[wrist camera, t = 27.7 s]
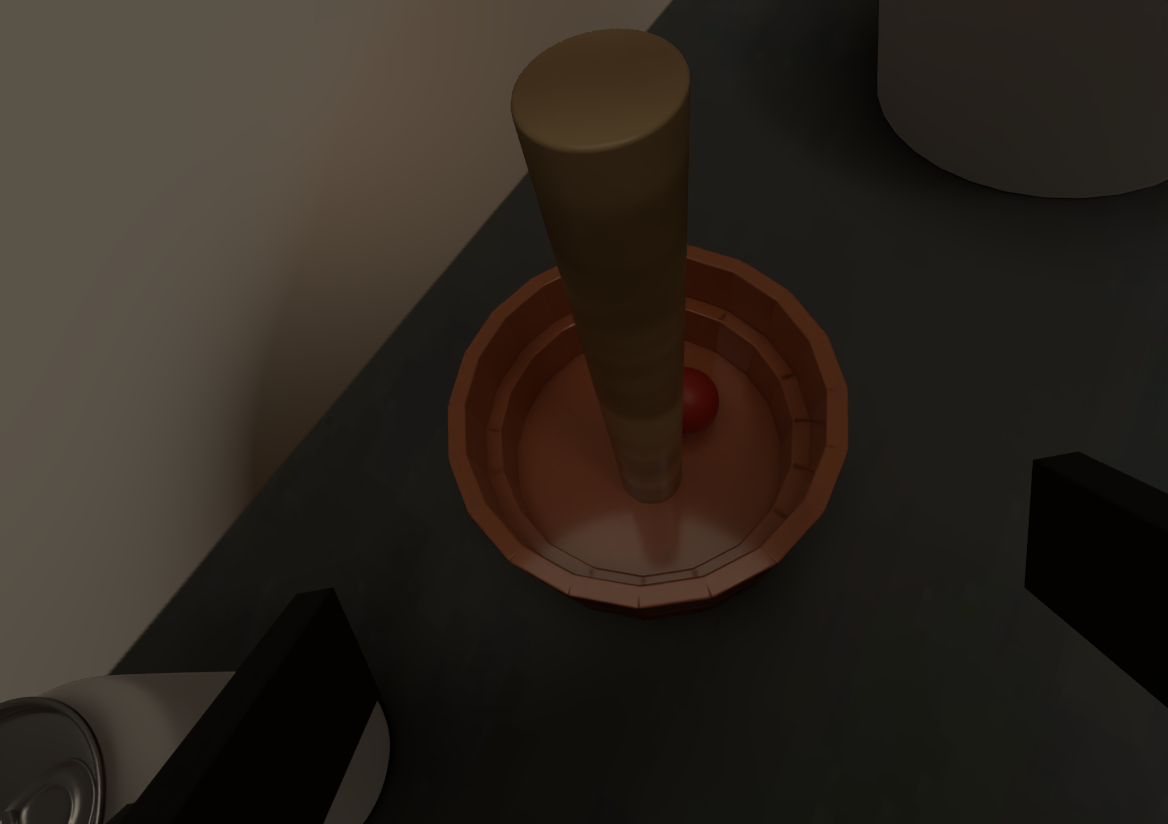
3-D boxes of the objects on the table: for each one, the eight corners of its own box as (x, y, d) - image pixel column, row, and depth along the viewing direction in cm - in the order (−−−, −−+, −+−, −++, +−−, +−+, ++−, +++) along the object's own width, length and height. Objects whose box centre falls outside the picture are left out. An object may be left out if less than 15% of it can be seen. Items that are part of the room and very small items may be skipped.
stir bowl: (455, 400, 28) (402, 338, 23) (702, 280, 29) (708, 192, 23) (569, 683, 22) (534, 691, 16) (881, 520, 22) (946, 475, 17)
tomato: (695, 390, 26) (635, 392, 25) (718, 351, 23) (653, 353, 23) (712, 446, 24) (648, 450, 24) (739, 412, 22) (669, 415, 21)
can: (415, 806, 21) (130, 962, 10) (259, 892, 20) (-213, 1153, 10) (370, 641, 24) (112, 624, 13) (233, 715, 23) (-153, 761, 12)
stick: (614, 457, 24) (493, 60, 8) (669, 440, 24) (656, 6, 8) (632, 511, 23) (530, 172, 7) (689, 493, 23) (719, 110, 7)
